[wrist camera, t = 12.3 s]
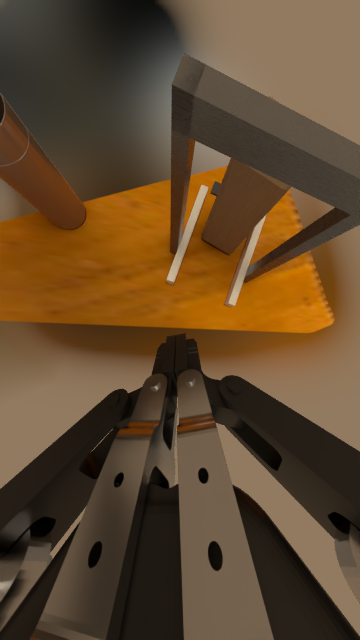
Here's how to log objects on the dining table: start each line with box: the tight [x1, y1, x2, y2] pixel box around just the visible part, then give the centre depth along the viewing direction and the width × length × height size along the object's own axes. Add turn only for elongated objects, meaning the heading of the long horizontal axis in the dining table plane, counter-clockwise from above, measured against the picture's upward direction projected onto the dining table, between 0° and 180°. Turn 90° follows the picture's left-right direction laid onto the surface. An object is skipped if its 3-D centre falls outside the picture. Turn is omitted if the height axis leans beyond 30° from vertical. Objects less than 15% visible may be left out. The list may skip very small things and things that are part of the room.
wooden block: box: [202, 97, 291, 254], centre depth 28 cm, size 10×10×20 cm
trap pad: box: [211, 181, 221, 196], centre depth 38 cm, size 14×4×1 cm, turn 70°
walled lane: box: [167, 185, 266, 307], centre depth 36 cm, size 20×28×2 cm
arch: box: [170, 53, 360, 283], centre depth 25 cm, size 24×3×26 cm, turn 70°
